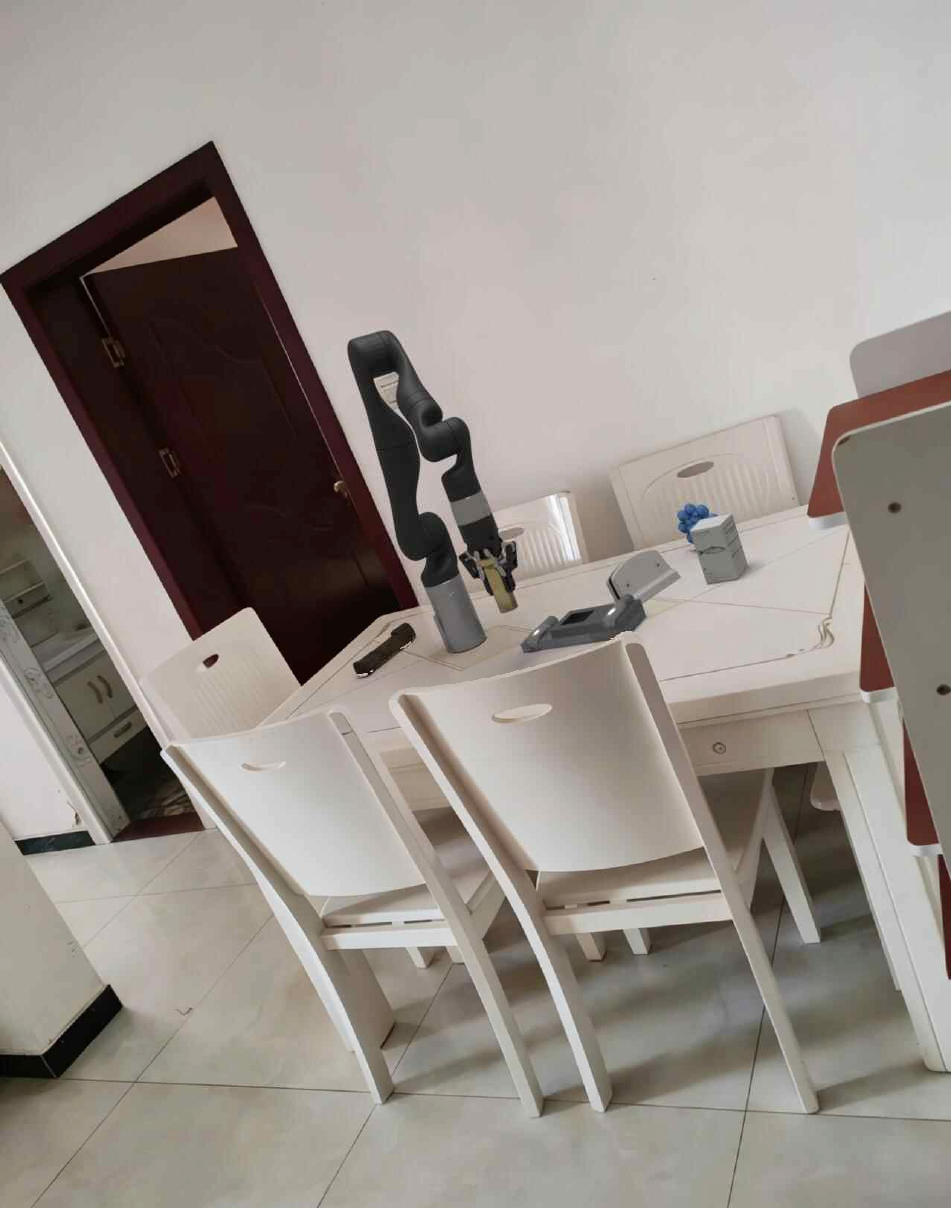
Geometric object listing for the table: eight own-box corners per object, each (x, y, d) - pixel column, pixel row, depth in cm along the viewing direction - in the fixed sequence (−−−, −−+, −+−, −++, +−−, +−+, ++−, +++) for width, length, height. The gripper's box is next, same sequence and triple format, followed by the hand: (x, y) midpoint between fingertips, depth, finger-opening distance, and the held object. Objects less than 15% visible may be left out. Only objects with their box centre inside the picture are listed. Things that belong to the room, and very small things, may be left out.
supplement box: (706, 585, 202) (687, 531, 199) (718, 571, 208) (700, 518, 205) (738, 580, 198) (720, 524, 195) (749, 566, 203) (732, 511, 200)
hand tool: (369, 678, 234) (360, 658, 232) (357, 679, 237) (348, 659, 236) (425, 636, 250) (417, 618, 248) (413, 638, 253) (405, 619, 252)
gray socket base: (522, 653, 206) (513, 631, 205) (545, 631, 215) (536, 609, 213) (626, 638, 191) (618, 613, 189) (647, 614, 199) (638, 591, 198)
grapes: (678, 559, 227) (662, 513, 224) (692, 548, 231) (676, 502, 228) (721, 553, 219) (705, 505, 216) (734, 542, 223) (718, 495, 220)
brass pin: (493, 615, 197) (472, 563, 193) (505, 605, 200) (485, 553, 197) (513, 612, 193) (492, 559, 190) (525, 601, 197) (505, 549, 194)
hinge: (634, 609, 205) (608, 570, 206) (622, 616, 209) (597, 578, 210) (682, 576, 214) (657, 539, 214) (669, 583, 218) (646, 546, 218)
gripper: (436, 529, 193) (467, 605, 198) (492, 516, 184) (522, 595, 189) (456, 516, 199) (485, 590, 203) (510, 503, 190) (539, 580, 194)
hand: (502, 592), depth 196 cm, fingers closed on brass pin, 4 cm apart
